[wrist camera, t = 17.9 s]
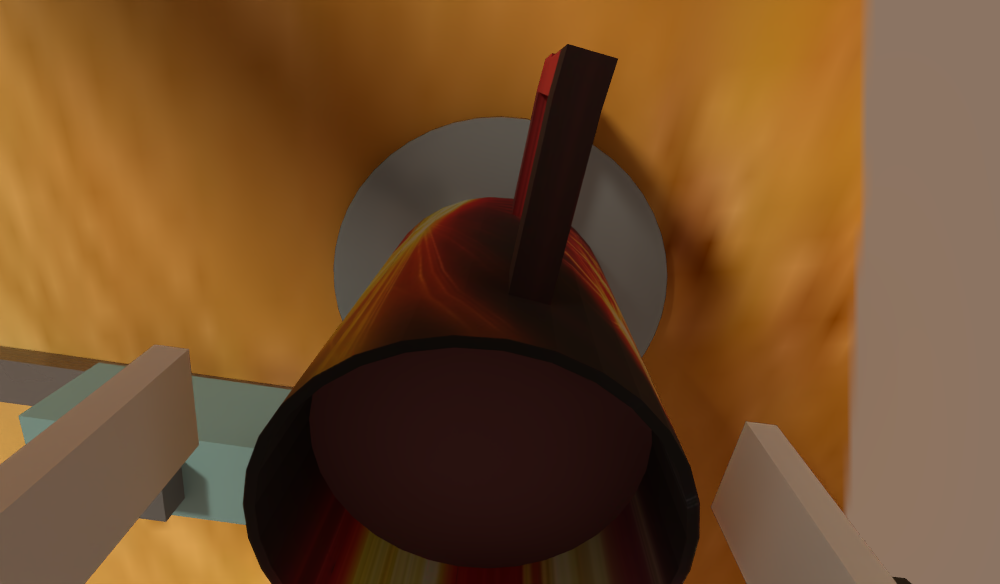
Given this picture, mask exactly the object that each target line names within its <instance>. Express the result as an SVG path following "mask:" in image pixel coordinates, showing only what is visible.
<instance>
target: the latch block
mask: <svg viewBox="0 0 1000 584" xmlns="http://www.w3.org/2000/svg"><path fill="white" fill-rule="evenodd" d="M125 367H126V366H119V365H112V364H105V363H97V364H96V365H94V366H93V367H91V368H90V369H88V370H87V371H85V372H84V373H82V374H81V375H79V376H78V377H76V378H75V379H73V380H72V381H70V382H69V383H67V384H66V385H64V386H63V387H61V388H60V389H58V390H57V391H55V392H54V393H52V394H51V395H49V396H48V397H46V398H45V399H43V400H41V401H40V402H38V403H37V404H35V405H34V406H32V407H31V408H29V409H28V410H26V411H25V412H23V413H22V414H20V415H19V420H20V424H21V428H22V432H23V436H24V440H25V444H27V443H29V442H30V441H31V440H32V439H34V438H35V437H36V436H38V435H39V434H40V433H41V432H43V431H44V430H45V429H47V428H48V427H49V426H50V425H52V424H53V423H54V422H56V421H57V420H58V419H59V418H61V417H62V416H63V415H65V414H66V413H67V412H68V411H70V410H71V409H72V408H74V407H75V406H76V405H77V404H79V403H80V402H81V401H83V400H84V399H85V398H86V397H88V396H89V395H90V394H92V393H93V392H94V391H95V390H97V389H98V388H99V387H101V386H102V385H103V384H104V383H106V382H107V381H108V380H110V379H111V378H112V377H113V376H115V375H116V374H117V373H119V372H120V371H121V370H123V369H124V368H125ZM192 384H193V393H194V402H195V412H196V421H197V430H198V439H199V446H198V447H197V448H196V449H195V450H194V452H193V453H192V454H191V455H190V457H189V458H188V459H187V460H186V461H185V463H184V464H183V465H182V466H181V467H180V469H179V470H178V471H177V472H176V474H175V475H174V476H173V477H172V478H171V480H170V481H169V482H168V483H167V484H166V486H165V487H164V488H163V489H162V491H161V492H160V493H159V494H158V495H157V497H156V498H155V499H154V500H153V501H152V503H151V504H150V505H149V506H148V508H147V509H146V510H145V511H144V512H143V514H142V515H141V516H140V517H139V518H142V519H149V520H157V521H164V522H166V521H167V520H168V519H169V517H170V516H171V515H177V516H184V517H192V518H199V519H206V520H214V521H221V522H229V523H236V524H244V525H246V522H245V516H244V510H243V495H244V484H245V474H246V468H247V466H248V463H249V460H250V458H251V455H252V452H253V450H254V447H255V444H256V442H257V439H258V436H259V435H260V433H261V432H262V431H263V429H264V428H265V426H266V425H267V424H268V422H269V421H270V419H271V418H272V417H273V415H274V414H275V412H276V411H277V410H278V408H279V407H280V405H281V404H282V403H283V401H284V400H285V398H286V397H287V396H288V394H289V393H290V392H291V390H289V389H282V388H275V387H268V386H261V385H254V384H247V383H240V382H233V381H226V380H218V379H211V378H204V377H197V376H192Z"/></svg>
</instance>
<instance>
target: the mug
mask: <svg viewBox="0 0 1000 584" xmlns="http://www.w3.org/2000/svg"><path fill="white" fill-rule="evenodd" d="M617 60H618V59H617V58H614V57H610V56H607V55H604V54H600V53H597V52H593V51H590V50H586V49H583V48H580V47H576V46H573V45H569V44H567V45H566V46H565V47H564V48H562V49H561V50H560V51H558V52H557V53H556V54H553V53H552V54H551V55H550V56H549V57H547V58H546V59H545V63H544V67H543V70H542V74H541V78H540V81H539V85H538V89H537V93H536V98H535V102H534V107H533V112H532V116H531V121H530V126H529V130H528V135H527V140H526V144H525V149H524V154H523V158H522V163H521V168H520V173H519V177H518V182H517V187H516V191H515V196H514V199H512V198H497V197H484V198H477V199H469V200H464V201H461V202H458V203H455V204H452V205H449V206H446V207H443V208H441V209H440V210H438V211H436V212H435V213H433V214H431V215H429V216H428V217H426V218H424V219H423V220H422V221H421V222H420V223H418V224H417V225H416V226H415V227H414V228H413V229H412V230H411V231H410V232H409V233H407V235H406V236H405V237H404V239H403V240H402V241H401V243H400V244H399V245H398V247H397V248H396V249H395V251H394V252H393V254H392V255H391V256H390V258H389V259H388V260H387V262H386V263H385V264H384V266H383V267H382V268H381V270H380V271H379V273H378V274H377V275H376V277H375V278H374V279H373V281H372V282H371V283H370V285H369V286H368V287H367V289H366V290H365V291H364V293H363V294H362V296H361V297H360V298H359V300H358V301H357V302H356V304H355V305H354V306H353V308H352V309H351V310H350V312H349V313H348V315H347V316H346V317H345V319H344V320H343V321H342V323H341V324H340V325H339V327H338V328H337V329H336V331H335V332H334V333H333V335H332V336H331V338H330V339H329V340H328V342H327V343H326V344H325V346H324V347H323V348H322V350H321V351H320V352H319V354H318V355H317V356H316V358H315V359H314V361H313V362H312V363H311V365H310V366H309V367H308V369H307V370H306V371H305V373H304V374H303V375H302V377H301V378H300V380H299V381H298V382H297V384H296V385H295V386H294V388H293V389H292V390H291V392H290V393H289V394H288V396H287V397H286V398H285V400H284V401H283V403H282V404H281V405H280V407H279V408H278V410H277V411H276V412H275V414H274V415H273V417H272V418H271V419H270V421H269V422H268V424H267V425H266V426H265V428H264V429H263V431H262V432H261V433H260V435H259V436H258V439H257V442H256V444H255V447H254V450H253V452H252V455H251V458H250V460H249V463H248V466H247V468H246V474H245V484H244V495H243V510H244V516H245V522H246V528H247V534H248V539H249V541H250V543H251V546H252V548H253V551H254V553H255V555H256V558H257V560H258V562H259V565H260V567H261V569H262V571H263V572H264V574H265V575H266V577H267V578H268V579H269V581H270V582H271V584H683V582H684V580H685V579H686V577H687V575H688V573H689V572H690V569H691V566H692V562H693V559H694V555H695V551H696V548H697V544H698V541H699V523H700V502H699V498H698V494H697V490H696V486H695V483H694V479H693V475H692V471H691V467H690V465H689V463H688V460H687V458H686V456H685V454H684V451H683V449H682V447H681V445H680V443H679V440H678V438H677V436H676V434H675V431H674V429H673V427H672V425H671V423H670V420H669V418H668V416H667V414H666V411H665V409H664V407H663V405H662V402H661V400H660V398H659V396H658V394H657V391H656V389H655V387H654V385H653V382H652V380H651V378H650V376H649V373H648V371H647V369H646V367H645V365H644V362H643V360H642V358H641V356H640V353H639V351H638V349H637V347H636V345H635V342H634V340H633V338H632V336H631V333H630V331H629V329H628V327H627V324H626V322H625V320H624V318H623V316H622V313H621V311H620V309H619V307H618V304H617V302H616V300H615V298H614V296H613V293H612V291H611V289H610V287H609V284H608V282H607V280H606V278H605V275H604V273H603V271H602V269H601V267H600V265H599V263H598V261H597V259H596V257H595V255H594V253H593V252H592V250H591V248H590V246H589V245H588V244H587V243H586V241H585V240H584V239H583V238H582V237H581V236H580V234H579V233H578V232H577V231H576V230H575V229H574V228H573V227H572V226H571V225H572V221H573V217H574V213H575V210H576V206H577V202H578V198H579V194H580V190H581V187H582V183H583V179H584V175H585V171H586V167H587V164H588V160H589V156H590V152H591V148H592V145H593V141H594V137H595V133H596V129H597V125H598V122H599V118H600V114H601V110H602V107H603V104H604V101H605V98H606V95H607V92H608V89H609V85H610V82H611V79H612V76H613V73H614V70H615V67H616V64H617Z"/></svg>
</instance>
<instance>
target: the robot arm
mask: <svg viewBox="0 0 1000 584" xmlns="http://www.w3.org/2000/svg"><path fill="white" fill-rule="evenodd" d="M198 446H199V439H198V430H197V421H196V412H195V402H194V393H193V384H192V375H191V365H190V356H189V349H184V348H176V347H169V346H161V345H153V346H152V347H151V348H150V349H148V350H147V351H146V352H144V353H143V354H142V355H141V356H139V357H138V358H137V359H135V360H134V361H133V362H132V363H130V364H129V365H128V366H126V367H125V368H124V369H123V370H121V371H120V372H119V373H117V374H116V375H115V376H113V377H112V378H111V379H110V380H108V381H107V382H106V383H104V384H103V385H102V386H101V387H99V388H98V389H97V390H95V391H94V392H93V393H92V394H90V395H89V396H88V397H86V398H85V399H84V400H83V401H81V402H80V403H79V404H77V405H76V406H75V407H74V408H72V409H71V410H70V411H68V412H67V413H66V414H65V415H63V416H62V417H61V418H59V419H58V420H57V421H56V422H54V423H53V424H52V425H50V426H49V427H48V428H47V429H45V430H44V431H43V432H41V433H40V434H39V435H38V436H36V437H35V438H34V439H32V440H31V441H30V442H29V443H27V444H26V445H25V446H23V447H22V448H21V449H20V450H18V451H17V452H16V453H14V454H13V455H12V456H11V457H9V458H8V459H7V460H5V461H4V462H3V463H1V464H0V584H85V583H86V582H87V580H88V579H89V578H90V577H91V576H92V574H93V573H94V572H95V571H96V569H97V568H98V567H99V566H100V565H101V563H102V562H103V561H104V560H105V559H106V557H107V556H108V555H109V554H110V552H111V551H112V550H113V549H114V548H115V546H116V545H117V544H118V543H119V542H120V540H121V539H122V538H123V537H124V535H125V534H126V533H127V532H128V531H129V529H130V528H131V527H132V526H133V525H134V523H135V522H136V521H137V520H138V518H139V517H140V516H141V515H142V514H143V512H144V511H145V510H146V509H147V508H148V506H149V505H150V504H151V503H152V501H153V500H154V499H155V498H156V497H157V495H158V494H159V493H160V492H161V491H162V489H163V488H164V487H165V486H166V484H167V483H168V482H169V481H170V480H171V478H172V477H173V476H174V475H175V474H176V472H177V471H178V470H179V469H180V467H181V466H182V465H183V464H184V463H185V461H186V460H187V459H188V458H189V457H190V455H191V454H192V453H193V452H194V450H195V449H196V448H197V447H198ZM711 509H712V511H713V513H714V515H715V517H716V519H717V521H718V524H719V526H720V528H721V530H722V532H723V534H724V536H725V539H726V541H727V543H728V545H729V547H730V549H731V551H732V554H733V556H734V558H735V560H736V562H737V564H738V566H739V569H740V571H741V573H742V575H743V577H744V579H745V581H746V584H911V583H910V582H909V581H908V580H907V579H905V578H898V577H892V576H891V575H890V574H889V573H888V571H887V570H886V569H885V567H884V566H883V565H882V563H881V562H880V561H879V559H878V558H877V557H876V555H875V554H874V553H873V551H872V550H871V549H870V548H869V546H868V545H867V544H866V542H865V541H864V540H863V538H862V537H861V536H860V534H859V533H858V532H857V530H856V529H855V528H854V526H853V525H852V524H851V523H850V521H849V520H848V519H847V517H846V516H845V515H844V513H843V512H842V511H841V509H840V508H839V507H838V505H837V504H836V503H835V501H834V500H833V499H832V497H831V496H830V495H829V494H828V492H827V491H826V490H825V488H824V487H823V486H822V484H821V483H820V482H819V480H818V479H817V478H816V476H815V475H814V474H813V472H812V471H811V470H810V469H809V467H808V466H807V465H806V463H805V462H804V461H803V459H802V458H801V457H800V455H799V454H798V453H797V451H796V450H795V449H794V447H793V446H792V445H791V444H790V442H789V441H788V440H787V438H786V437H785V436H784V434H783V433H782V432H781V430H780V429H779V428H778V426H777V425H770V424H762V423H754V422H747V421H746V422H745V425H744V427H743V430H742V432H741V435H740V437H739V439H738V442H737V444H736V447H735V449H734V452H733V454H732V457H731V459H730V461H729V464H728V466H727V469H726V471H725V474H724V476H723V479H722V481H721V484H720V486H719V488H718V491H717V493H716V496H715V498H714V501H713V503H712V506H711Z"/></svg>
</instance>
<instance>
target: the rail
mask: <svg viewBox="0 0 1000 584" xmlns="http://www.w3.org/2000/svg"><path fill="white" fill-rule="evenodd" d="M97 363H105V364H112V365H119V366H128V365H129V364H122V363H115V362H108V361H101V360H94V359H87V358H80V357H73V356H66V355H59V354H52V353H45V352H38V351H31V350H23V349H16V348H9V347H2V346H0V402H7V403H14V404H21V405H29V406H34V405H35V404H37V403H38V402H40V401H41V400H43V399H45V398H46V397H48V396H49V395H51V394H52V393H54V392H55V391H57V390H58V389H60V388H61V387H63V386H64V385H66V384H67V383H69V382H70V381H72V380H73V379H75V378H76V377H78V376H79V375H81V374H82V373H84V372H85V371H87V370H88V369H90V368H91V367H93V366H94V365H96V364H97ZM191 375H192V376H197V377H204V378H211V379H218V380H226V381H233V382H240V383H247V384H254V385H261V386H268V387H275V388H282V389H289V390H292V389H293V388H292V387H285V386H278V385H271V384H264V383H257V382H250V381H243V380H236V379H229V378H222V377H214V376H207V375H200V374H193V373H191Z"/></svg>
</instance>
